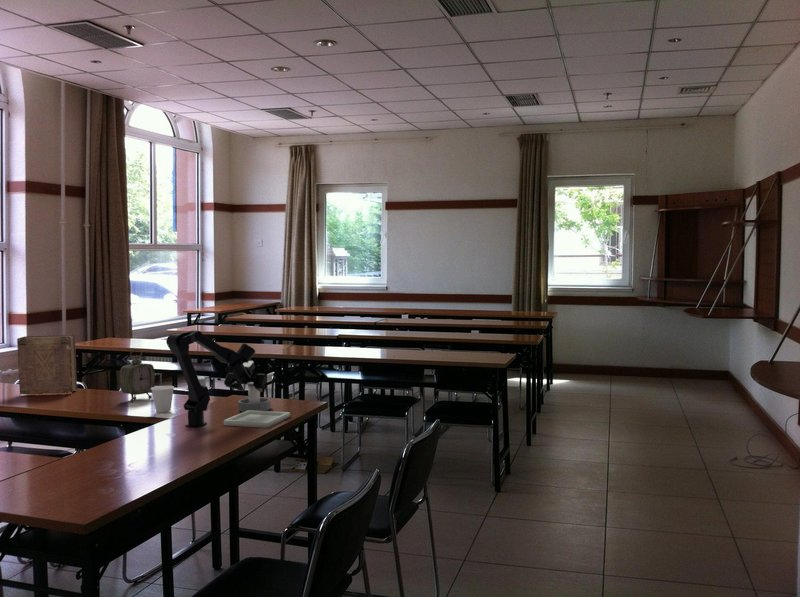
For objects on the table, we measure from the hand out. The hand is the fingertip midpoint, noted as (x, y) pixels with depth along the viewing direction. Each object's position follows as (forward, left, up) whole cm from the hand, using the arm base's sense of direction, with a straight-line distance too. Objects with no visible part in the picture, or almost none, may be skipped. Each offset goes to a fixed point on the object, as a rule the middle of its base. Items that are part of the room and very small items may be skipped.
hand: (252, 391), depth 314 cm
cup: (-12, +38, -9) cm, 41 cm away
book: (+13, +126, -9) cm, 127 cm away
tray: (-19, -13, -9) cm, 25 cm away
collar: (+2, 0, -9) cm, 9 cm away
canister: (+2, 0, -9) cm, 9 cm away
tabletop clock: (+9, +68, -9) cm, 69 cm away
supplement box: (+6, +32, -9) cm, 34 cm away
